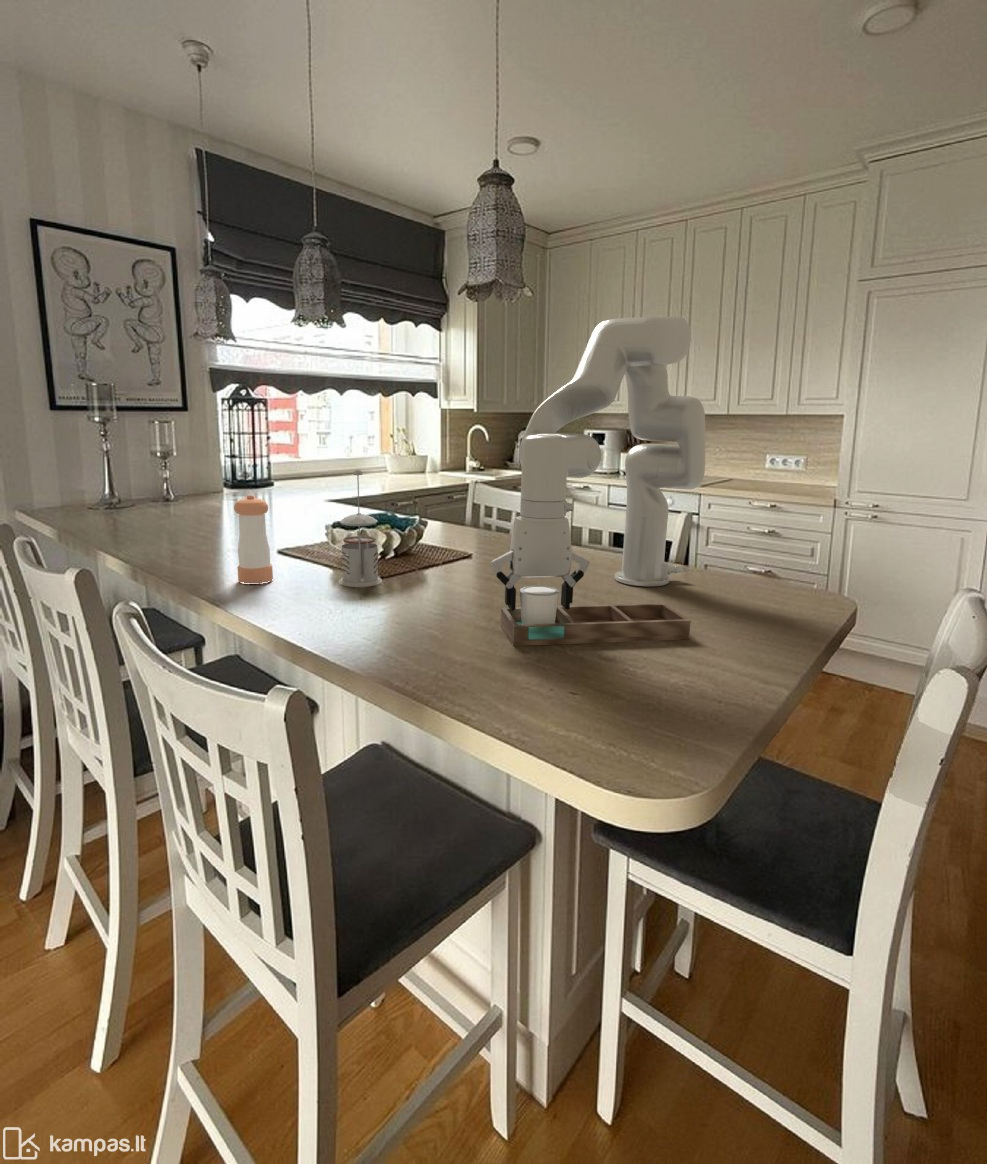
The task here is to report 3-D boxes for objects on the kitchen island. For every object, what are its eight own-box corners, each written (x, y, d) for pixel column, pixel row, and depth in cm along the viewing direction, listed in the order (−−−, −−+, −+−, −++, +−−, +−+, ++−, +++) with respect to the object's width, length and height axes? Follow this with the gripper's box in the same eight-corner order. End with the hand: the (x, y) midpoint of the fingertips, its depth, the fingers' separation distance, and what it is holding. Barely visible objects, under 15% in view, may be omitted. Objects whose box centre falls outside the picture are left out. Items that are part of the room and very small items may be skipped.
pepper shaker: (277, 582, 149) (272, 496, 144) (243, 586, 145) (237, 497, 140) (267, 575, 154) (262, 492, 150) (234, 579, 150) (228, 493, 146)
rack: (662, 620, 128) (664, 603, 127) (690, 640, 117) (692, 621, 116) (500, 625, 122) (501, 607, 121) (513, 646, 111) (514, 627, 111)
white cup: (561, 625, 120) (563, 587, 118) (552, 636, 114) (553, 597, 112) (525, 620, 122) (526, 583, 120) (513, 631, 116) (514, 592, 114)
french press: (378, 575, 158) (376, 467, 151) (387, 587, 147) (385, 472, 141) (336, 577, 154) (332, 467, 148) (341, 590, 144) (337, 472, 138)
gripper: (585, 507, 118) (579, 601, 122) (488, 507, 115) (485, 603, 119) (599, 513, 111) (592, 612, 115) (496, 513, 108) (493, 615, 112)
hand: (538, 608), depth 117 cm, fingers open, 9 cm apart
